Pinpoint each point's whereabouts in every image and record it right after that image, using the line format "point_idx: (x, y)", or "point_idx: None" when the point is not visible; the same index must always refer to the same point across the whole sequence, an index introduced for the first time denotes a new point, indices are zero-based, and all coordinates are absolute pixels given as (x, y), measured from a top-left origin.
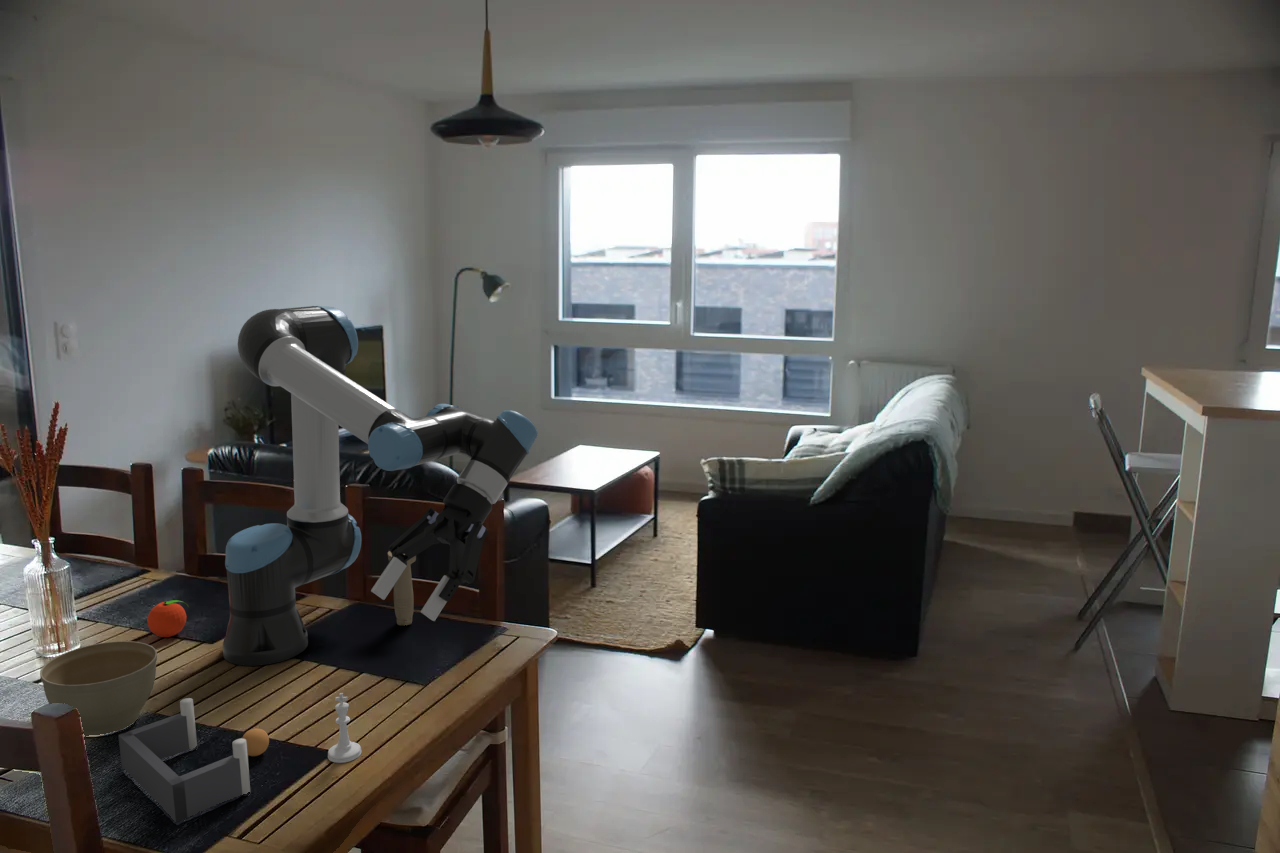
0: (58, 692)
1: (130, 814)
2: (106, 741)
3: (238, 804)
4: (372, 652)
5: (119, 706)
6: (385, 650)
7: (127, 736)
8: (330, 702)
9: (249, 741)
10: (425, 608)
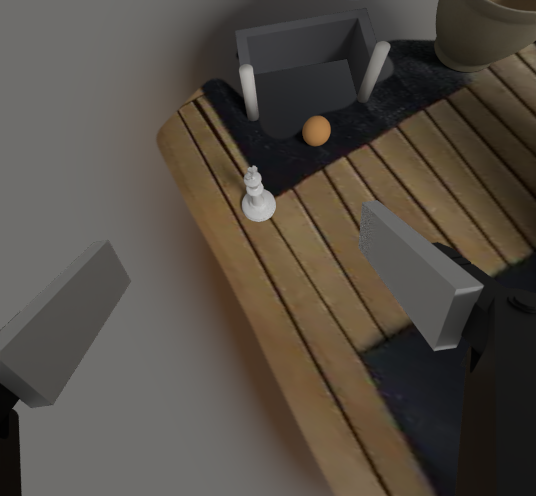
0: None
1: None
2: (424, 46)
3: (240, 109)
4: None
5: (440, 17)
6: None
7: (357, 13)
8: None
9: (308, 119)
10: (89, 250)
